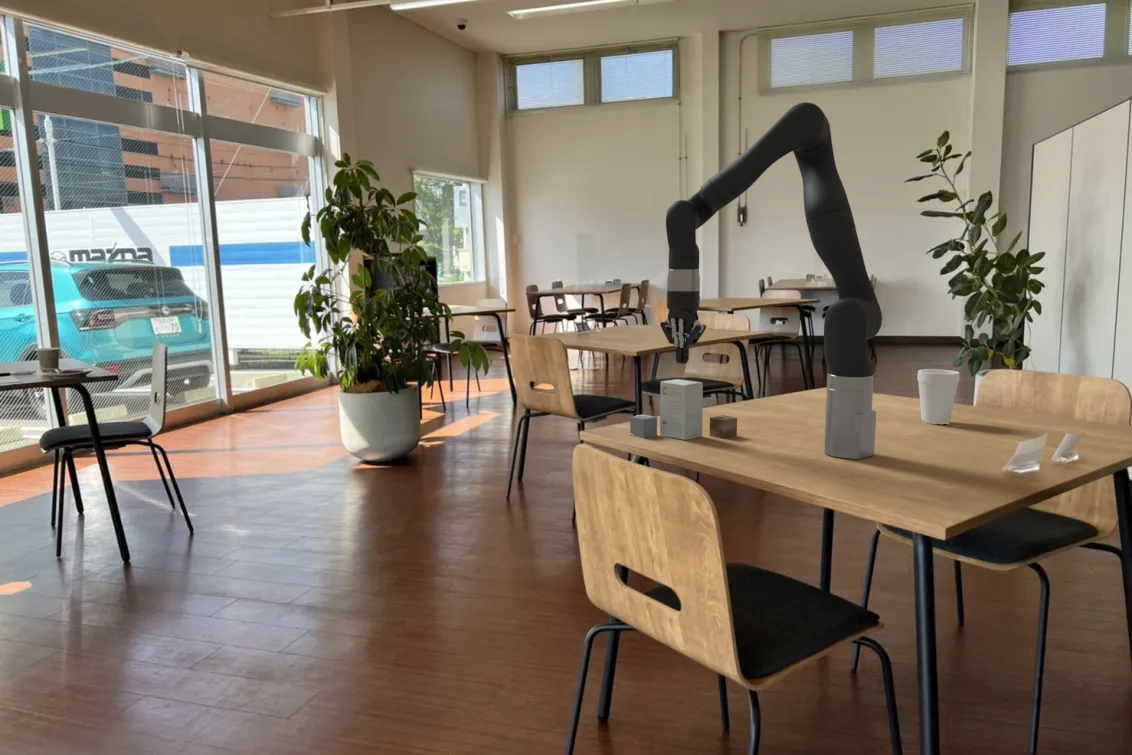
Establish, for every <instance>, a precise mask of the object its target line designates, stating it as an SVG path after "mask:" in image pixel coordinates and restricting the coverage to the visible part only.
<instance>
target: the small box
mask: <svg viewBox="0 0 1132 755" xmlns="http://www.w3.org/2000/svg"><path fill="white" fill-rule="evenodd" d="M703 388H704V385H703V382H702V381H701V382H700V381H694V380H685V379H678V378H676V379H670V380H669V379H667V380H663V381H660V391H659V392H660V398H659V399H660V404H659V405H660V408H659V411H660V412H659V414H660V416H659V418H660V420H659V422H660V423H659V424H660V425H659V427H660V428H659V432H660V433H659V435H660V436H665V437H669V438H673V439H679V440H682V441H686V440H693V439H697V438H701V437H702V436H703V402H704V401H703V400H704V399H703V396H704V394H703V393H704V392H703V390H704V389H703Z"/></svg>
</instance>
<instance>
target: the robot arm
mask: <svg viewBox="0 0 1132 755" xmlns="http://www.w3.org/2000/svg"><path fill="white" fill-rule="evenodd" d="M831 132H832V131H831V125H830V122H829V118H828V117H827V116H826V115H825V113H824V111H823V110H822V109H821V108H820V107H819V106H818V105H817V104H815V103H812V102H808V101H807V102H799V103H797V104H795V105H793V106H792V107H791V108H789V109H788V110H787V111H786V112H785V113H784V114H783V115H782V116H781V117H779V119H778V120H777V121H776V122H775V123H774V124H773V125H772V126H771V127H770V128H769V129H768V130H767V131H766V132H765V133H764V134H763V135H762V136H761V137H760V138H758V140H757V141H755V142H754V143H753V144H752V145H750V147H748V149H746V150H745V151H744V152H743V153H742V154H740V155H739V156H738V157H737V158H735V159H734V160H733V161H732V162H730V163H728V164H727V165H726V166H725V167H724V168H722V169H721V170H719V171H718V172H717V173H715V174H714V175H712V176H711V177H710V178H709V179H707V180H706V181H705V182H703V184H702V185H701V186H700V189H699V190H698V191H697V192H696V193H694V194H693V195H692V196H690V197H689V198H688V199H686V200H685V199H680V200H679V199H678V200H676V201H674V202H672V203H671V205H669V207H668V208H667V211H666V216H665V232H666V238H667V245H668V271H667V279H666V309H667V310H668V314H667V318H666V319H665V321H662V322H660V323H659V324H660V327H661V330H662V332H663V333H664V335H665V337H666V340H667V341H668V343H669V345H673V346H674V348H675V360H676V363H677V364H681V365H684V364H688V361H689V356H690V355H689V354H690V347H692V346H696V345H697V344H698V341H699V339H701V337H702V336H703V334H704V332H705V330H706V329H707V326H706V324H702V323H701V322H700V321H699V320H700V319H699V314H698V310H699V309H700V296H701V295H700V294H701V293H700V292H701V290H700V288H701V277H700V249H699V248H700V247H699V246H698V244H697V234H696V232H697V229H699V228H700V227H702V226H703V225H705V223H707V222H708V221H709V220H710V219H711V218H713V216H714V215H716V213H717V212H718V211H720V210H722V209H723V208H725V207H726V206H727V205H729V204H730V203H732V202H734V200H736V199H737V198H738V197H740V196H741V195H742V194H743V193H745V192H746V191H747V190H748V189H749V188H750V187H752V185H754V183H756V181H758V180H759V179H760V177H761V176H762V175H763V174H764V173H765V172H766V171H767V170H768V169H769V168H770V167H771V166H772V165H773V164H774V163H776V162H777V161H779V160H780V159H782V158H783V157H784V156H786V155H788V154H789V153H791V152H793V155H794V156H795V159H796V162H797V166H798V170H799V172H800V175H801V179H802V186H803V190H802V192H803V209H804V215H805V221H806V225H807V230H808V234H809V237H810V239H811V244H812V246H813V249H814V251H815V252H816V254H817V255H818V257H819V258H820V260H821V261H822V263H823V265H824V266H825V267H826V268H827V270H828V272H829V274H830V275H831V278H832V279H833V282H834V284H835V287H836V292H837V296H838V299H837V300H835V301H834V302H833V303H832V304H831V305H829V307H828V308H827V310H826V313H825V316H824V322H823V354H824V356H823V357H824V360H825V364H826V366H827V371H826V372H827V374H826V375H827V377H826V397H825V398H826V399H825V401H826V402H825V406H826V407H825V425H824V429H825V430H824V449H823V450H824V451H823V452H824V453H825V454H826V455H827V456H831V457H834V458H835V457H836V458H841V459H853V460H861V459H865V458H869V457H872V456H875V445H876V442H875V441H876V424H877V423H876V422H877V421H876V420H877V412H876V411H875V410H873V394H874V377H875V375H874V374H875V364H874V361H873V360H872V359H870V358H869V356H868V353H867V341H868V340H870V339H872V338H874V337H876V336H877V335H878V333H879V332H880V331H881V327H882V324H883V314H882V313H883V312H882V309H881V307H880V306H881V305H880V303H879V301H878V298H877V296H876V292H875V291H874V288H873V286H872V282H871V280H870V277H869V274H868V271H867V268H866V264H865V261H864V256H863V252H862V248H861V245H860V241H859V238H858V237H859V236H858V233H857V232H858V231H857V227H856V224H855V220H854V216H853V212H852V209H851V205H850V202H849V199H848V195H847V193H846V190H845V187H844V185H843V182H842V180H841V177H840V174H839V172H838V168H837V164H836V160H835V155H834V154H835V153H834V148H833V147H834V146H833V141H832V133H831Z"/></svg>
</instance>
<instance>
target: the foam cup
mask: <svg viewBox="0 0 1132 755" xmlns="http://www.w3.org/2000/svg"><path fill="white" fill-rule="evenodd" d="M917 381H918V392H919V404H920V416H921V421H922V420H923V421H925V422H930V423H948V422H950V421H951V418H952V414H953V410H954V409H953V408H954V405H955V404H954V403H955V400H956V394H957V390H958V389H957V388H958V384H959V382H960V372H959V371H956V370H952V369H951V370H950V369H941V368H939V369H938V368H924V369H919V370H917ZM950 423H951V422H950Z"/></svg>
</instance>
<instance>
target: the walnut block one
mask: <svg viewBox="0 0 1132 755" xmlns="http://www.w3.org/2000/svg"><path fill="white" fill-rule="evenodd" d="M709 436H710V437H714V438H718V439H719V438H720V439H723V440H726V439H731V438H733V437H734V438H735V437H737V436H738V417H736V416H735V417H734V416H730V415H723V414H721V415H716V416H711V417H709Z"/></svg>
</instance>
